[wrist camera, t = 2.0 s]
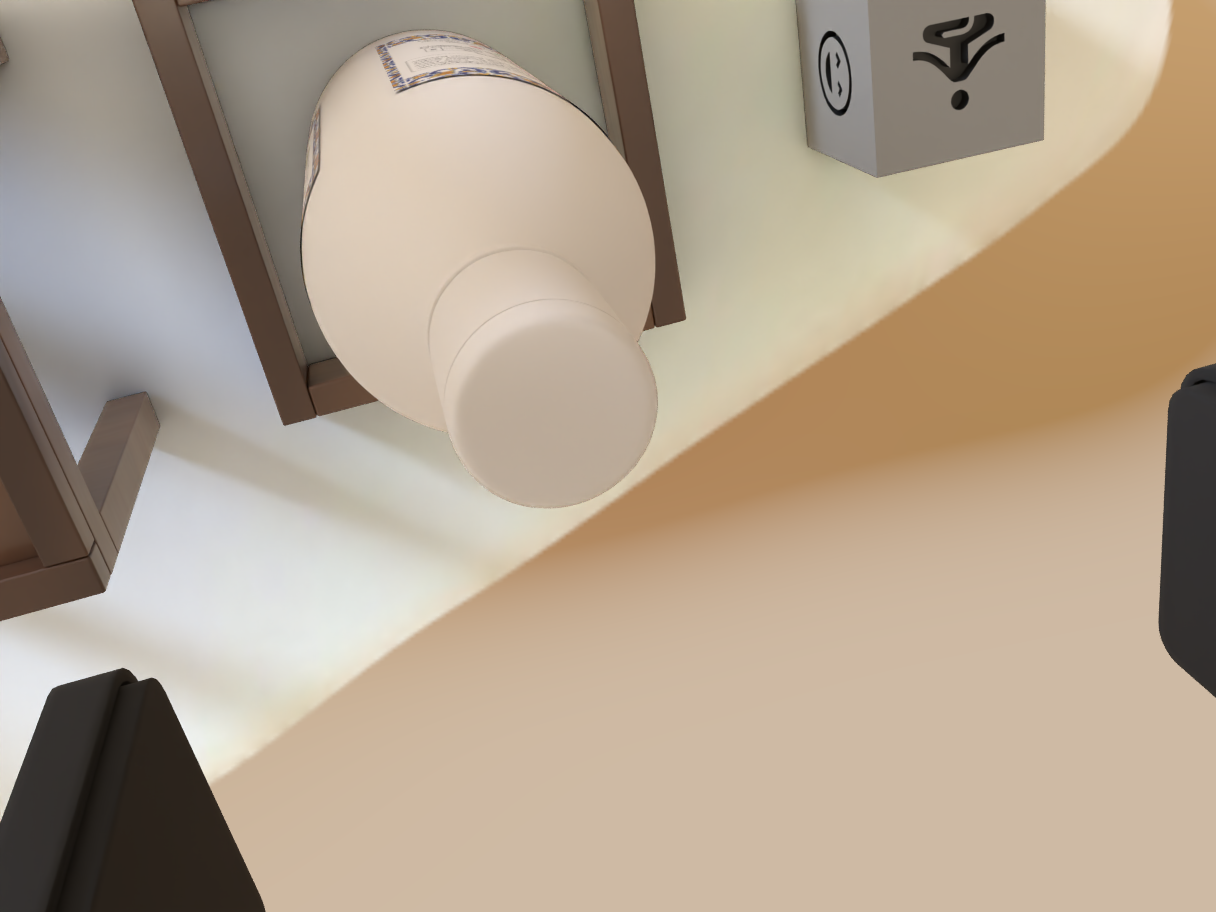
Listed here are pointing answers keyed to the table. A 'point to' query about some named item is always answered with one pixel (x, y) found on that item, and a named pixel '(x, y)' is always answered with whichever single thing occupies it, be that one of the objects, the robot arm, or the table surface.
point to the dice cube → (920, 79)
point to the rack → (127, 428)
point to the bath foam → (482, 264)
